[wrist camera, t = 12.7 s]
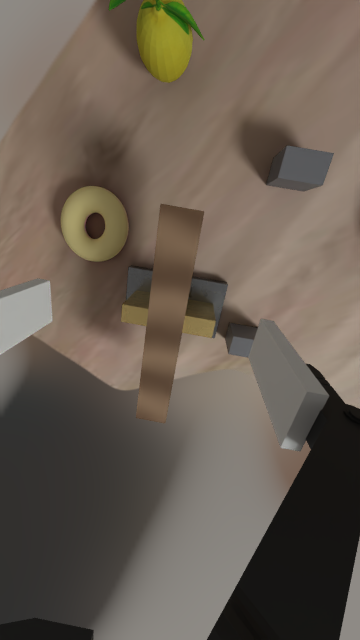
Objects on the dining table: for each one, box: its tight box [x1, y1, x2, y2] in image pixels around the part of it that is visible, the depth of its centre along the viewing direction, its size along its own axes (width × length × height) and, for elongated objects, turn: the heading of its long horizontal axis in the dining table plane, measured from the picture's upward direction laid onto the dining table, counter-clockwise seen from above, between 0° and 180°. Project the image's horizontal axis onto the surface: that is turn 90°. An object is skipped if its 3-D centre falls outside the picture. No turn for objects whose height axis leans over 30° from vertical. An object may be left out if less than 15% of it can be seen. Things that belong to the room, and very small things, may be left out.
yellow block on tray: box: [121, 265, 228, 338], centre depth 33 cm, size 9×15×8 cm, turn 81°
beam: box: [136, 204, 204, 423], centre depth 28 cm, size 26×4×4 cm, turn 171°
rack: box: [225, 146, 334, 358], centre depth 32 cm, size 26×5×5 cm, turn 171°
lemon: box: [109, 0, 204, 83], centre depth 22 cm, size 7×6×10 cm
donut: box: [61, 186, 129, 262], centre depth 33 cm, size 10×5×9 cm
